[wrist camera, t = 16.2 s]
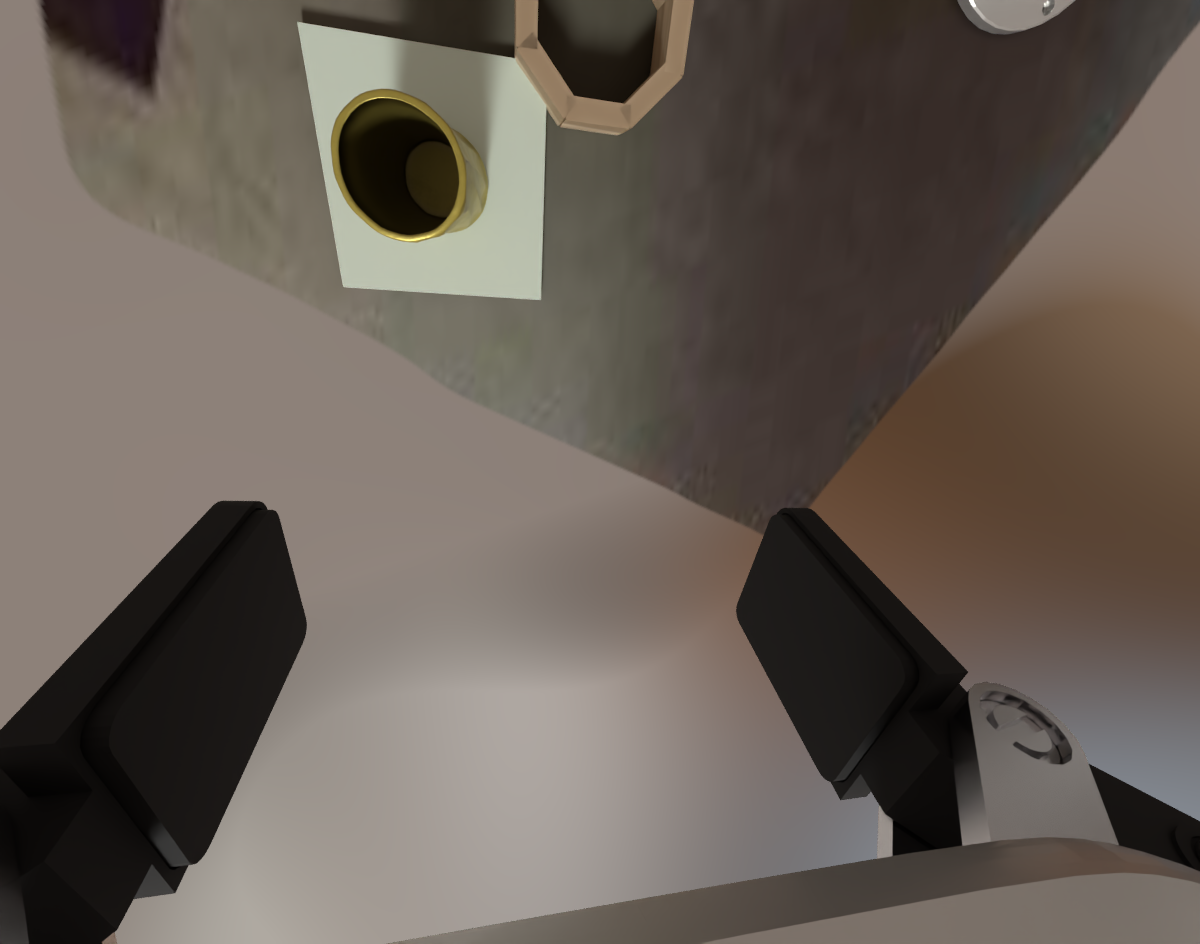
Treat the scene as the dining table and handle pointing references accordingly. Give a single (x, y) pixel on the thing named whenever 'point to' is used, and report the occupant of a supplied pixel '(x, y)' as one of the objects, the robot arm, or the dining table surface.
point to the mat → (477, 111)
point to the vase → (406, 167)
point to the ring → (598, 114)
